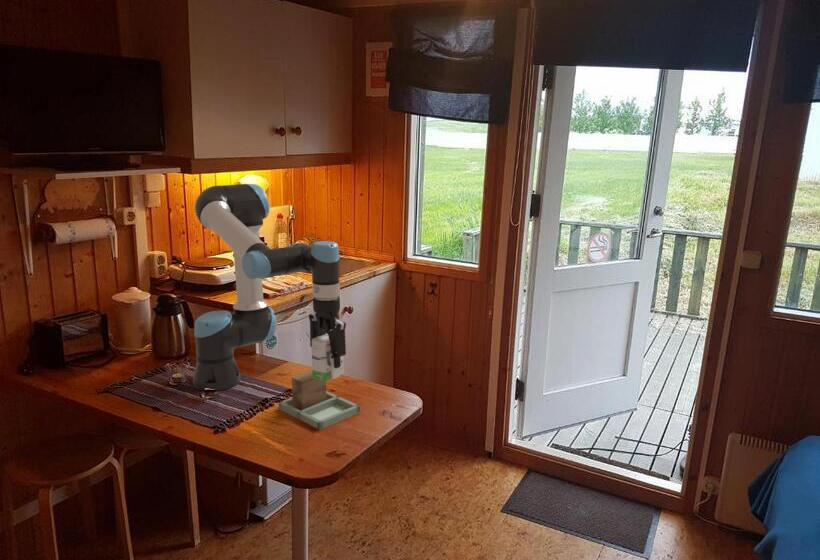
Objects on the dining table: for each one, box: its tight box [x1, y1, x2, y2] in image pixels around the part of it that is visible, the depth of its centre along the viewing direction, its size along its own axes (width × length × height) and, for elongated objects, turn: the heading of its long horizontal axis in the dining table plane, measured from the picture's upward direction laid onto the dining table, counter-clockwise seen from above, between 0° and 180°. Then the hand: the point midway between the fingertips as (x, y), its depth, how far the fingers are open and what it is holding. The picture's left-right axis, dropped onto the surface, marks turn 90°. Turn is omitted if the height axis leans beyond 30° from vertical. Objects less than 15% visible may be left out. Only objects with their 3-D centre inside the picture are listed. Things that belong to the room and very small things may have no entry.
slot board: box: [278, 390, 361, 431], centre depth 180 cm, size 19×15×3 cm
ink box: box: [311, 334, 344, 383], centre depth 172 cm, size 9×5×12 cm, turn 146°
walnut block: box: [291, 369, 327, 411], centre depth 181 cm, size 5×9×10 cm, turn 138°
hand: (328, 374), depth 174 cm, fingers closed on ink box, 5 cm apart
